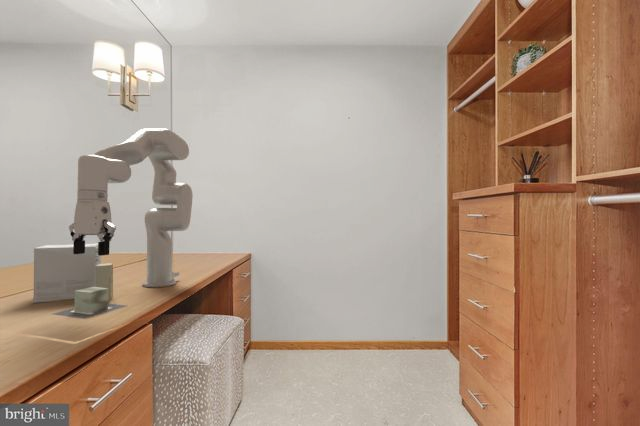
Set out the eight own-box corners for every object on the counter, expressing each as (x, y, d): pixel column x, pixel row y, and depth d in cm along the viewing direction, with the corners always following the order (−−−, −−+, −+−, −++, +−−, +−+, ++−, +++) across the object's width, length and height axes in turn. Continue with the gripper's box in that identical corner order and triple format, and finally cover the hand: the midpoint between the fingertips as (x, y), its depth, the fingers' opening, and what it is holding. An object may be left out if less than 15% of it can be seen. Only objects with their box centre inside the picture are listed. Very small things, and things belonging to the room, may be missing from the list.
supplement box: (101, 290, 130) (102, 243, 130) (95, 298, 118) (95, 246, 118) (44, 294, 123) (45, 244, 123) (32, 303, 111) (32, 247, 111)
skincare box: (110, 302, 114) (111, 265, 114) (94, 303, 112) (95, 266, 112) (113, 297, 119) (113, 262, 119) (98, 298, 118) (98, 263, 118)
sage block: (93, 306, 107) (93, 286, 107) (108, 307, 105) (108, 288, 105) (74, 311, 101) (74, 290, 101) (89, 313, 99) (89, 292, 99)
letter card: (96, 303, 111) (96, 302, 111) (128, 307, 107) (128, 305, 107) (51, 315, 98) (51, 313, 98) (85, 320, 94) (85, 318, 94)
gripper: (125, 197, 104) (124, 254, 103) (83, 198, 109) (81, 252, 109) (103, 196, 97) (101, 257, 96) (58, 196, 102) (57, 254, 101)
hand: (91, 254), depth 102 cm, fingers open, 9 cm apart
